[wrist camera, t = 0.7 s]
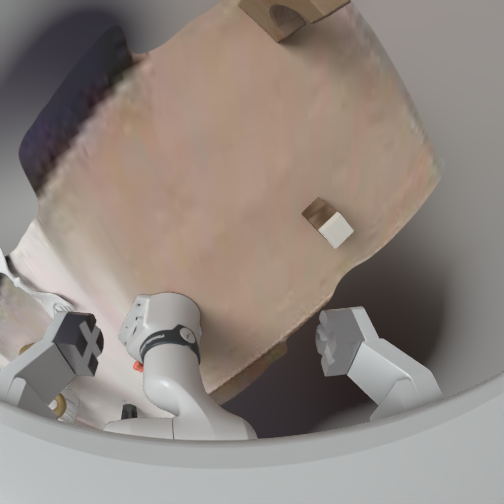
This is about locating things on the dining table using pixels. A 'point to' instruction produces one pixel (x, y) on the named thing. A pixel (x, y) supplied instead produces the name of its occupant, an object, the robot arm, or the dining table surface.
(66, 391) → the honey pot
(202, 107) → the dining table surface
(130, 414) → the beverage cup
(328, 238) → the walnut block
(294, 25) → the decorative block
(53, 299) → the white slender handled part
